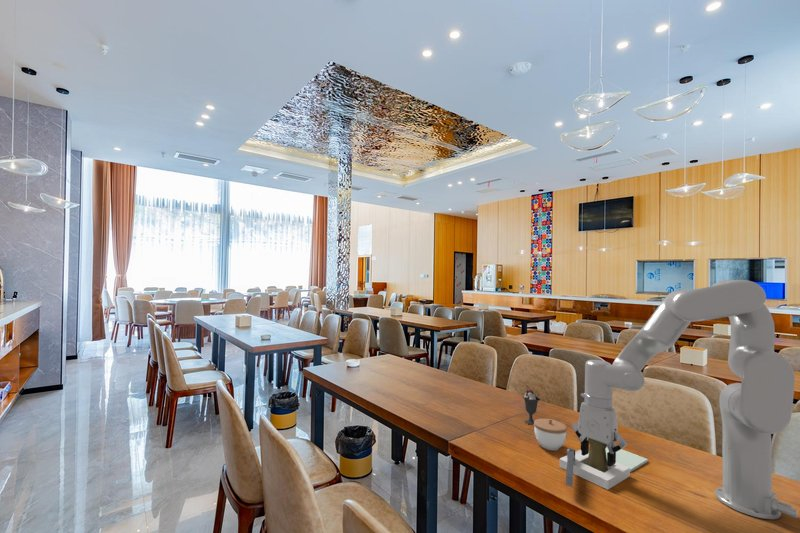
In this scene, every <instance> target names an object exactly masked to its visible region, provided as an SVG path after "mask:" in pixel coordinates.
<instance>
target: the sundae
mask: <svg viewBox="0 0 800 533" xmlns="http://www.w3.org/2000/svg"><path fill="white" fill-rule="evenodd" d="M525 387H526V391H525V392H526V393H524V395H523V396H522V398H523V400H524V405H525V406H524V407H525V411H526V413H528V416H529V417H528V419H526V420H524V421H525V422H526V423H525V422H524V423H525V424H527V423H528V424H527V425H530V424H534V421H535V420H534V419H533V415H534V414H535V413H536V412H537V409H538V403H539V401H541V399H540V397H539V395H540V394H539V393H538V395H537V393H535V391H533V390H531V389H530V387H529V386H528V385H525Z"/></svg>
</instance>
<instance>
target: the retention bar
mask: <svg viewBox="0 0 800 533" xmlns="http://www.w3.org/2000/svg"><path fill="white" fill-rule="evenodd" d="M575 452H576V449H574V448H573V447H567V448H566V456H567V458H568V459H567V470H566V474H565V485H566V486H569V487H571V488H573V486H574V485H573V483H574V474H573V466H574V459H575Z"/></svg>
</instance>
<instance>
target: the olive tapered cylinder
mask: <svg viewBox="0 0 800 533" xmlns="http://www.w3.org/2000/svg"><path fill="white" fill-rule="evenodd" d="M587 440H588V442H589V456H588V463H587V465H588V466H590V467H593V468H595V469H597V470H599V471H602V472H604V473H605V472H606V471H608V465H607V457H606V449H605V448H606V447H607V445H606V444H604V443H601V442H598V441H596V440H593V439H590V438H588V439H587Z"/></svg>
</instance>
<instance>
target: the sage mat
mask: <svg viewBox="0 0 800 533" xmlns="http://www.w3.org/2000/svg"><path fill="white" fill-rule="evenodd" d="M605 449H606V457H607V453H608V452H609V450H608V448H607V447H606V448H605ZM616 462H617V463H619V464H622V465H624V466H626V467H629V468H630V473H631V472H633V471H635V470H636V469H638V468H640V467H642V466H643V465H645V464H646V463H648V462H649V459H648V458H645V457H644V456H642V455H641V456H640V455H638V454H636V453H634V452H633V453H632V452H630V451H627V450H625V449H623V448H622V449H621V450H619V451H617V452H616Z"/></svg>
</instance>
